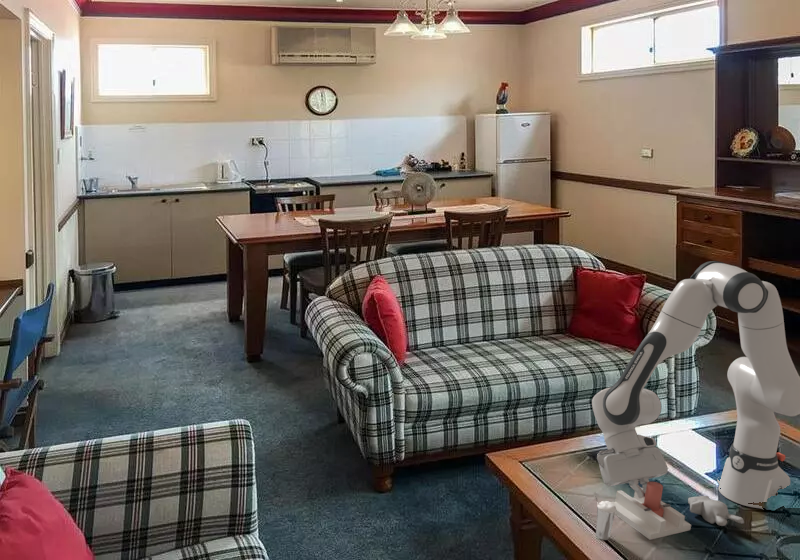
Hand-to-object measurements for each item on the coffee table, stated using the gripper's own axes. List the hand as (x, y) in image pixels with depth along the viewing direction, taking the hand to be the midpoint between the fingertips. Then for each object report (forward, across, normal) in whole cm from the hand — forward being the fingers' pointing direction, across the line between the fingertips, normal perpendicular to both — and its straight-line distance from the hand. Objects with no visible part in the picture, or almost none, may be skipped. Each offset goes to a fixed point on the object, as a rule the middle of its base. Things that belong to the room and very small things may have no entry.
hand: (645, 496), depth 197 cm
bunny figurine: (+10, +17, -2) cm, 20 cm away
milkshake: (+7, -18, +1) cm, 19 cm away
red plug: (+4, 0, +1) cm, 4 cm away
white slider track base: (+5, 0, +2) cm, 6 cm away
